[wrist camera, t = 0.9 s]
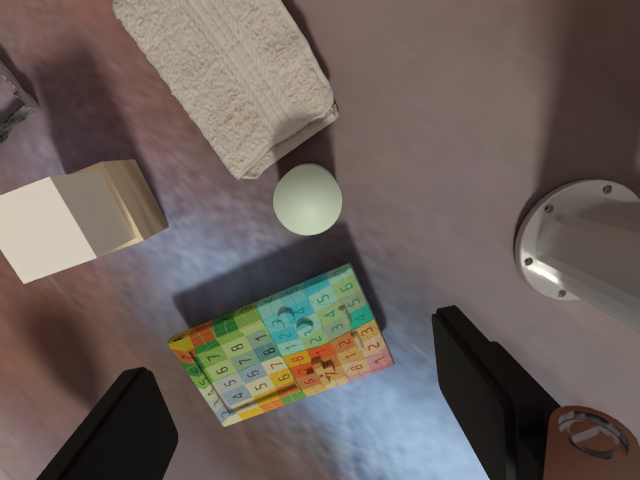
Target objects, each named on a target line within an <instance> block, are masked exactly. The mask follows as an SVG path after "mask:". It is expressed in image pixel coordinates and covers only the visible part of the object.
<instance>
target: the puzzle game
mask: <svg viewBox="0 0 640 480" xmlns="http://www.w3.org/2000/svg"><path fill="white" fill-rule="evenodd" d="M168 345H169V346H170V348H171V349H172V351H173V352H174V354H175V355H176V357H177V358H178V360H179V361H180V363H181V364H182V366H183V367H184V369H185V370H186V372H187V373H188V375H189V376H190V378H191V379H192V381H193V382H194V384H195V385H196V386H197V388H198V389H199V391H200V392H201V394H202V395H203V397H204V398H205V400H206V401H207V403H208V404H209V406H210V407H211V409H212V410H213V412H214V413H215V415H216V416H217V418H218V419H219V421H220V422H221V424H222V425H223V427H226V426H228V425H231V424H234V423H236V422H239V421H242V420H245V419H247V418H250V417H253V416H256V415H258V414H261V413H264V412H267V411H270V410H272V409H275V408H278V407H281V406H283V405H286V404H289V403H292V402H295V401H297V400H300V399H303V398H306V397H308V396H311V395H314V394H317V393H320V392H322V391H325V390H328V389H331V388H333V387H336V386H339V385H342V384H345V383H347V382H350V381H353V380H356V379H358V378H361V377H364V376H367V375H370V374H372V373H375V372H378V371H381V370H383V369H386V368H388V367H390V366H392V365H393V364H395V363H394V360H393V358H392V355H391V353H390V351H389V348H388V346H387V344H386V341H385V339H384V337H383V335H382V332H381V330H380V328H379V326H378V323H377V321H376V319H375V317H374V314H373V312H372V310H371V308H370V305H369V303H368V301H367V298H366V296H365V294H364V292H363V289H362V287H361V285H360V283H359V280H358V278H357V276H356V274H355V271H354V269H353V267H352V265H351V262H350V263H348V264H345V265H343V266H341V267H338V268H336V269H333V270H331V271H329V272H326V273H324V274H321V275H319V276H316V277H314V278H312V279H309V280H307V281H304V282H302V283H300V284H297V285H295V286H292V287H290V288H287V289H285V290H283V291H280V292H278V293H275V294H273V295H271V296H268V297H266V298H263V299H261V300H258V301H256V302H254V303H251V304H249V305H246V306H244V307H242V308H239V309H237V310H234V311H232V312H229V313H227V314H225V315H222V316H220V317H217V318H215V319H213V320H210V321H208V322H205V323H203V324H200V325H198V326H196V327H193V328H191V329H188V330H186V331H184V332H181V333H179V334H177V335H175V336H173V337H171V339H170V340H169V341H168Z"/></svg>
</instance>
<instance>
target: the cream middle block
mask: <svg viewBox="0 0 640 480" xmlns="http://www.w3.org/2000/svg"><path fill="white" fill-rule="evenodd" d="M133 239H135V236H134V234H133V232H132V230H131V229H130V227H129V225H128V223H127V221H126V219H125V217H124V216H123V214H122V212H121V210H120V208H119V206H118V204H117V203H116V201H115V199H114V197H113V195H112V193H111V191H110V190H109V188H108V186H107V184H106V182H105V180H104V178H103V177H102V175H101V173H100V171H93V172H85V173H76V174H68V175H59V176H50V177H47V178H44V179H42V180H39V181H37V182H34V183H32V184H29V185H26V186H24V187H21V188H19V189H16V190H13V191H11V192H8V193H6V194H3V195H0V249H1V251H2V252H3V254H4V255H5V257H6V258H7V260H8V261H9V263H10V264H11V266H12V267H13V269H14V270H15V272H16V273H17V275H18V276H19V278H20V279H21V281H22V282H23V283H24V284H25V283H28V282H30V281H33V280H36V279H39V278H42V277H44V276H47V275H50V274H53V273H56V272H59V271H61V270H64V269H67V268H70V267H73V266H75V265H78V264H81V263H84V262H87V261H89V260H92V259H95V258H98V257H100V256H102V255H104V254H105V253H107V252H109V251H111V250H113V249H115V248H117V247H119V246H121V245H123V244H125V243H127V242H129V241H131V240H133Z"/></svg>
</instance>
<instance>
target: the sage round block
mask: <svg viewBox="0 0 640 480" xmlns="http://www.w3.org/2000/svg"><path fill="white" fill-rule="evenodd" d="M273 204H274V210H275V213H276V215H277V217H278V219H279V220H280V222H281V223H282V224H283V225H284V226H285V227H286V228H288V229H289V230H291V231H292V232H295V233H297V234H301V235H315V234H319V233H321V232H324V231H325V230H327V229H328V228H330V227H331V226H332V225H333V224H334V223H335V221H336V220H337V218H338V217H339V214H340V212H341V208H342V195H341V191H340V189H339V186H338V184H337V183H336V181H335V179H334V177H333V175H332V174H331V173H330V172H329V171H328V170H327V169H326V168H324V167H323V166H321V165H318V164H314V163H304V164H300V165H298V166H296V167H294V168H292V169H291V170H290V171H289V172H288V173H287V174H286V175H285V176H284V177H283V178H282V179H281V180H280V181H279V183H278V185H277V187H276V189H275V192H274V198H273Z"/></svg>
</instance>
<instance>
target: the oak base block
mask: <svg viewBox="0 0 640 480" xmlns="http://www.w3.org/2000/svg"><path fill="white" fill-rule="evenodd" d="M93 171H100V173H101V175H102V177H103V178H104V180H105V182H106V184H107V186H108V188H109V190H110V191H111V193H112V195H113V197H114V199H115V201H116V203H117V204H118V206H119V208H120V210H121V212H122V214H123V216H124V217H125V219H126V221H127V223H128V225H129V227H130V229H131V230H132V232H133V234H134V236H135V239H133V240H131V241H129V242H127V243H125V244H123V245H121V246H119V247H117V248H115V249H113V250H111V251H109V252H107V253H105V254H108V253H111V252H114V251H116V250H119V249H122V248H125V247H127V246H130V245H133V244H136V243H138V242H141V241H144V240H146V239H148V238H149V237H151V236H153V235H155V234H157V233H158V232H160V231H162V230H164V229H166V228H167V227H169V226H168V224H167V222H166V220H165V218H164V216H163V214H162V212H161V210H160V208H159V206H158V204H157V202H156V200H155V198H154V196H153V194H152V192H151V190H150V188H149V186H148V184H147V182H146V180H145V178H144V176H143V174H142V172H141V170H140V169H139V167H138V165H137V163H136V161H135V159H130V160H117V161H104V162H99V163H97V164H94V165H92V166H89V167H87V168H84V169H81V170H79V171H76V172H74V173H71V174H76V173H85V172H93ZM105 254H104V255H105Z"/></svg>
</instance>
